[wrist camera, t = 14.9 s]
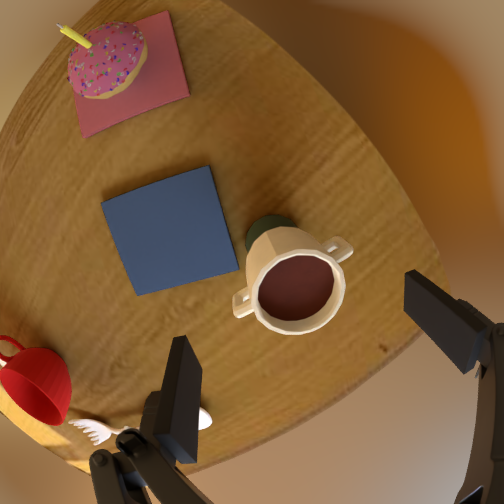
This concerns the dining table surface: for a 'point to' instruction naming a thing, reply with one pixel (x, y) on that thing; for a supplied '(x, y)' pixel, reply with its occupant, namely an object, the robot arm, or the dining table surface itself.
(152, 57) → the rose mat
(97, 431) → the spoon
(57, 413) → the ceramic cup
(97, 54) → the cupcake
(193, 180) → the blue mat
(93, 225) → the dining table surface
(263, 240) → the character mug
